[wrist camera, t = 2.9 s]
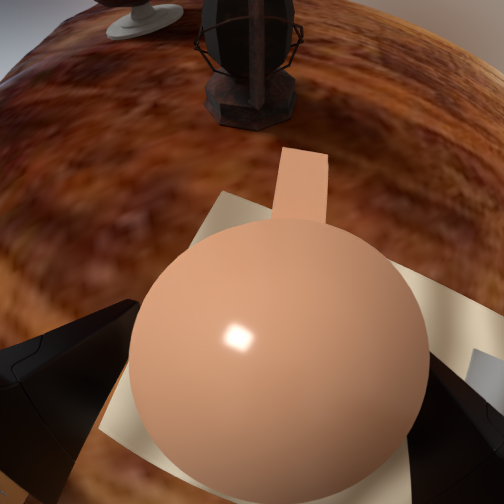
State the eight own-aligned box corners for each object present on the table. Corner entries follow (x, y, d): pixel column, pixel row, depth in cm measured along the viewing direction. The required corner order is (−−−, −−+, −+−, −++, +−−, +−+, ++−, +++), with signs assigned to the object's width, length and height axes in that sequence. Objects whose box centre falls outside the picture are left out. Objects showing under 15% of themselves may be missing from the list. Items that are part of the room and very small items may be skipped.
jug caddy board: (110, 424, 14) (69, 436, 10) (224, 203, 19) (216, 159, 15) (481, 521, 9) (511, 535, 5) (544, 349, 14) (579, 340, 10)
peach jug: (317, 430, 13) (429, 534, 2) (192, 410, 13) (63, 486, 3) (340, 260, 16) (438, 111, 6) (226, 242, 16) (188, 68, 6)
